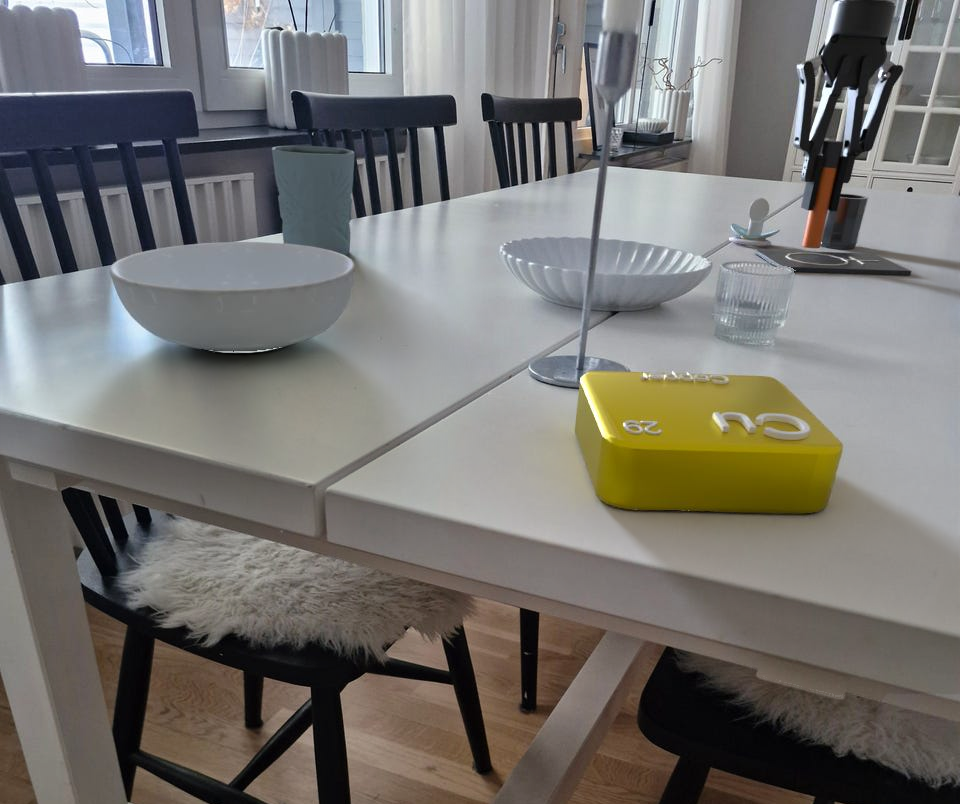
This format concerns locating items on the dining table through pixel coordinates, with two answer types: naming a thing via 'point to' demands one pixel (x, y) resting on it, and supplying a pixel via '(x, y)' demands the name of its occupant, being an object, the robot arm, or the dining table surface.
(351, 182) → the green vase
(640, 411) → the element tile
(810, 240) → the marker
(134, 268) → the serving bowl
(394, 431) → the dining table surface
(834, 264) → the slate board
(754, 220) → the pacifier
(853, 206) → the pen pot
